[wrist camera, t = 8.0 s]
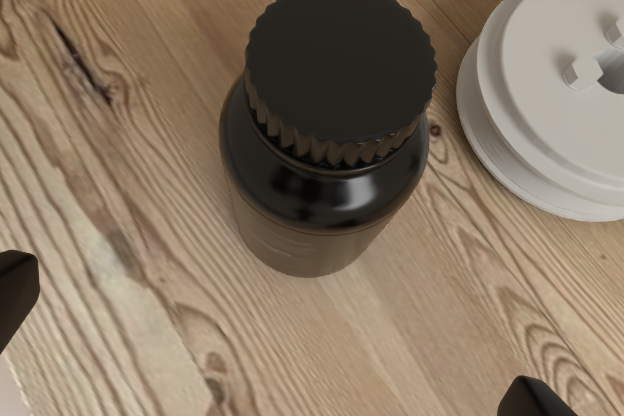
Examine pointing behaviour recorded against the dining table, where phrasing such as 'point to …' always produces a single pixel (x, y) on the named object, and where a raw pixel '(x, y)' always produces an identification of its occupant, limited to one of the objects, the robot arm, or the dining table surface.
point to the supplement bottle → (326, 129)
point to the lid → (550, 104)
